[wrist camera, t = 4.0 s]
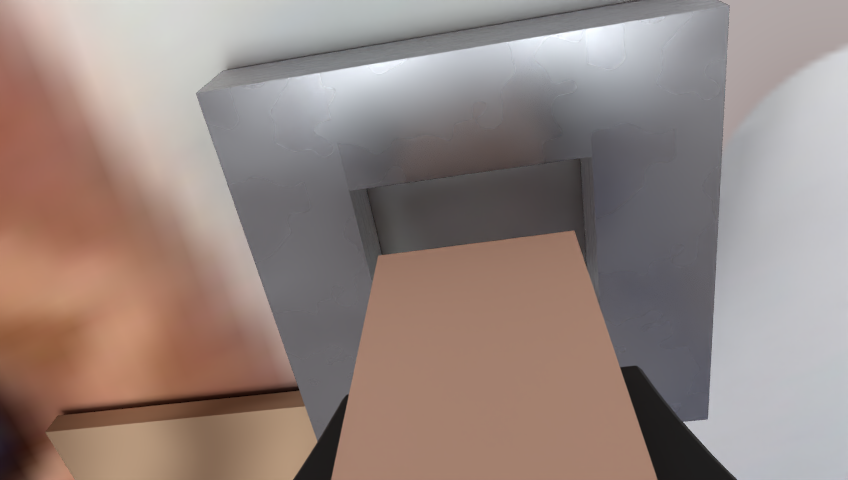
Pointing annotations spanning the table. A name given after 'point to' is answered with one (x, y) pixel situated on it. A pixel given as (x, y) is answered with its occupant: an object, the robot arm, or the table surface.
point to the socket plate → (486, 151)
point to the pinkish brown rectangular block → (488, 371)
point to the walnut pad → (189, 440)
